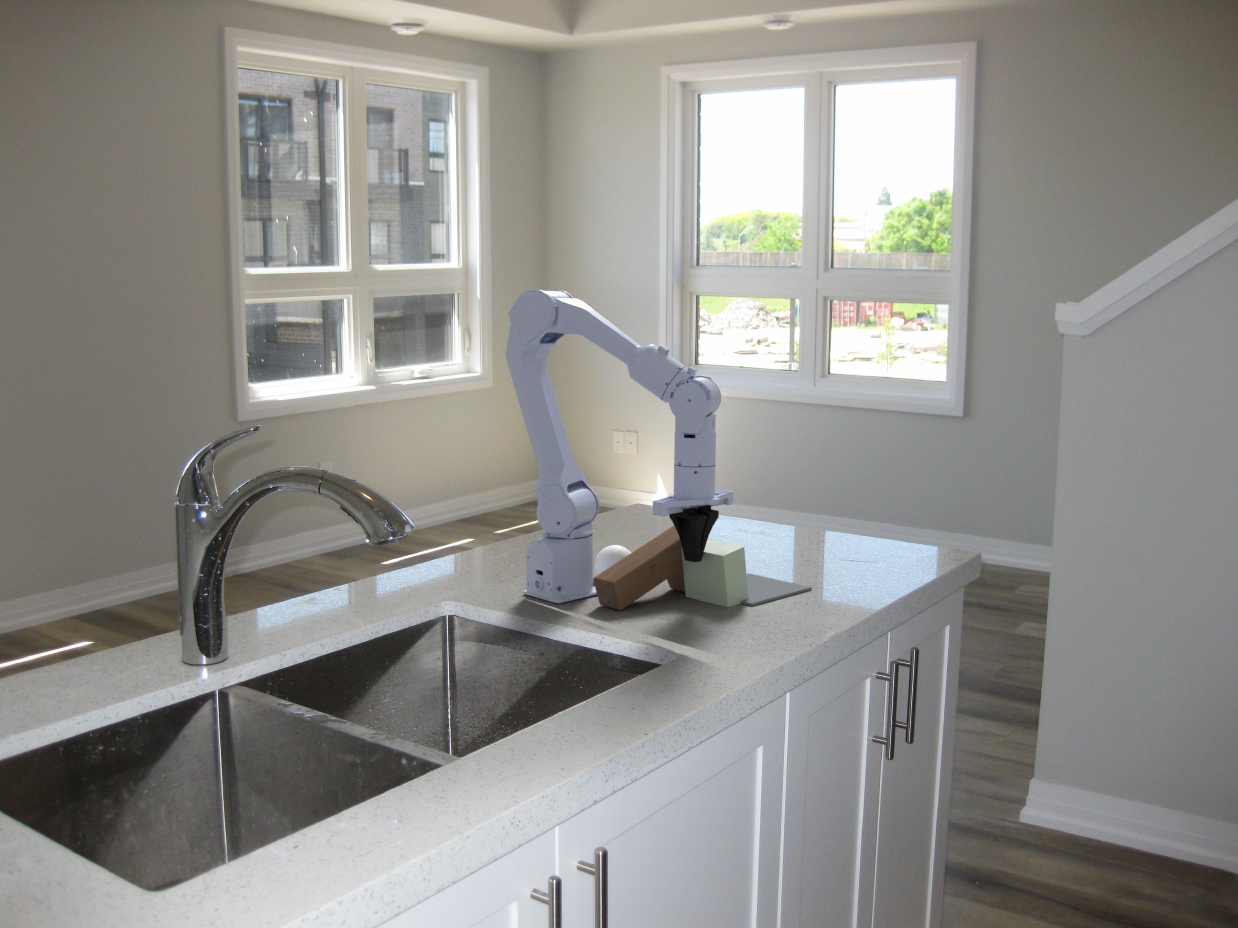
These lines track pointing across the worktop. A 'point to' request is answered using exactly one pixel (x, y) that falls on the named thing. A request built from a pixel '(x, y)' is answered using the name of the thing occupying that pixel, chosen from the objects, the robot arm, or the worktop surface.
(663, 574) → the wooden block
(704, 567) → the sage block
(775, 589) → the mat
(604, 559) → the lightbulb
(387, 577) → the worktop surface
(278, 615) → the worktop surface
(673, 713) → the worktop surface
